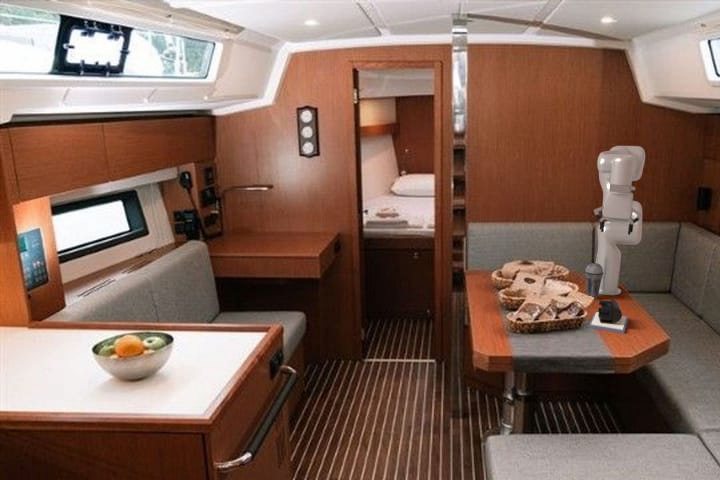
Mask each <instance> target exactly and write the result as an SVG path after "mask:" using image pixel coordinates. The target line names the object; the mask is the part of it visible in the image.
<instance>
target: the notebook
mask: <svg viewBox="0 0 720 480" xmlns="http://www.w3.org/2000/svg"><path fill="white" fill-rule="evenodd" d="M598 314H599V313H598V311H595V312H594V314H593V316H592V318H591V320H590V322H589V324H588V328H591V329H597V330H603V331H607V332H612V333H613V332H614V333H620V334H625V331H626V328H627V325H628V322H629V317H628V316H624V315H622V318H621V319H620V321H618V322H616V323H614V324H605V323H600V320H599V316H598Z"/></svg>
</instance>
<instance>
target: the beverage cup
mask: <svg viewBox="0 0 720 480" xmlns="http://www.w3.org/2000/svg"><path fill="white" fill-rule="evenodd" d="M598 254H599V253H598V252H597V253H596V259H595V262H591V263H589V264H588V265H587V266H586V268H585V271H584V272H585V296H586V295H588V296H592V297H594V300H593V301H596V300H598V297H599V295H600V294H599V289H600V284H601V279H602V276H603V268H602V266H601V265H600V264H598V263H597V260H598Z"/></svg>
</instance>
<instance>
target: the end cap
mask: <svg viewBox="0 0 720 480" xmlns="http://www.w3.org/2000/svg"><path fill="white" fill-rule="evenodd" d="M598 305H600V307H598V311H597V312H598V313H599V314H598V316H599V320H600V323H605V324H614V323H616V322H618V321H620V319H621V318H622V316H623V313H622V311H621V308H620V304H619V303H618V302H617V301H616V300H614V299H610V300H599V301H598Z"/></svg>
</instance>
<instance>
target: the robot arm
mask: <svg viewBox="0 0 720 480" xmlns="http://www.w3.org/2000/svg"><path fill="white" fill-rule="evenodd" d="M645 161H646V153H645V149H644V148H643V147H642V146H638V145H615V146H613V147H611V148H610V150H606V151H602V152H600V153H599V155H598V157H597V162H596V163H597V170H598V178H599V179H598V180H599V183H600V186H601V190H602V192H603V193H602V194H603V196H602V197H603V198H602V206H600V207H597V208H594V209H593V212H594V215H595V218H596V219H597V220H598V221H599V225H598V226H597V253H599V254H598V260H597V263H598V264H600V265H601V266H602V268H603V276H602V279H601V284H600V289H599V294H598V295H603V296H617V295H620V294H621V293H622V289H621V288H619V276H620V269H621V260H622V259H621V258H622V253H621V250H620V249H619V248H618V247H617V245H619V244H620V245H634V246H635V245H638V244H640V242H641V240H642V233H643V215H644V214H643V206H642V205H641V203H640V202H639V201H637V200H634V193H633V192H632V191H636V186H633V185H632V184H633V183H632V182H634V181H635V182H636V181H638V180H640V179H641V177H642V175H643V169H644V167H645ZM599 212H601V213H602V215H600V213H599ZM605 220H606V221H605Z"/></svg>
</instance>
